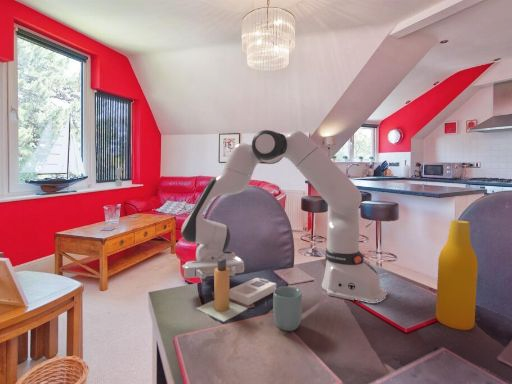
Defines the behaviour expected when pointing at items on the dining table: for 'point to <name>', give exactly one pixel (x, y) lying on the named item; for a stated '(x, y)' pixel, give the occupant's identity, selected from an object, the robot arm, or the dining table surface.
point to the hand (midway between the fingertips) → (218, 275)
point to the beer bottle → (457, 279)
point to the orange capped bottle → (221, 286)
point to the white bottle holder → (252, 290)
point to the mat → (222, 316)
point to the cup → (287, 307)
